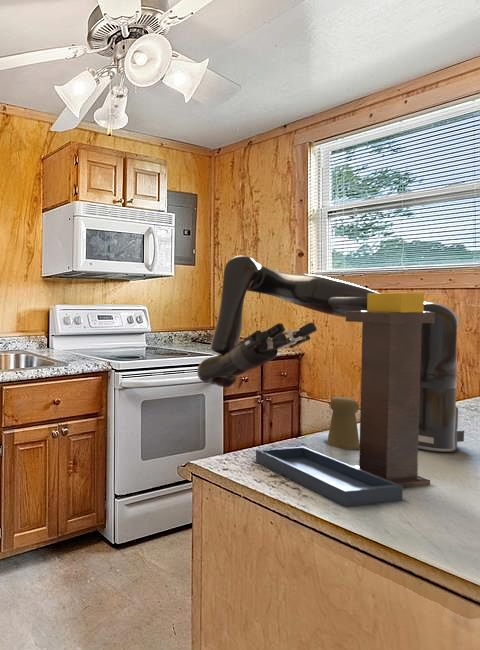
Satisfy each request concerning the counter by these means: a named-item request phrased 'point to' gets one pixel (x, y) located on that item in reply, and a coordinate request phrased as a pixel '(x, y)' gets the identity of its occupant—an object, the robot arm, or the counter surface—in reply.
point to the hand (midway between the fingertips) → (298, 326)
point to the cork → (344, 424)
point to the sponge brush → (383, 302)
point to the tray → (330, 476)
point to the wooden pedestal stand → (390, 394)
